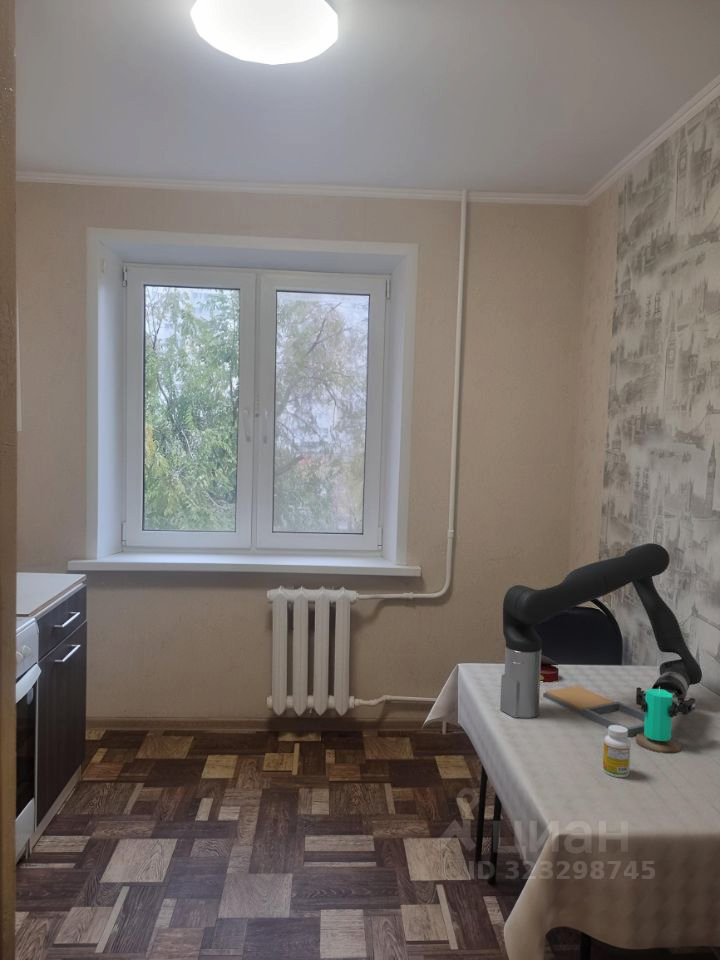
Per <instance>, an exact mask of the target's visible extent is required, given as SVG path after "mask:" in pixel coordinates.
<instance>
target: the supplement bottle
mask: <svg viewBox="0 0 720 960" xmlns="http://www.w3.org/2000/svg"><path fill="white" fill-rule="evenodd" d="M623 726H624V725H623ZM623 726H619V725H611V726H609V727H607V730H608V731H607V735H606V736H605V737H604V740H603V757H602V758H603V759H602V761H603V762H602V769H603V772H604V773H605V774H607V775H608V776H610V777H615V778H626V777H628V776H629V775H630V766H631V764H630V763H631V740H630V739H629V737H627V736H628V729H627V728H628V727H627V728H625V727H626V726H625V727H623Z"/></svg>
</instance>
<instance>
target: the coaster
mask: <svg viewBox="0 0 720 960" xmlns="http://www.w3.org/2000/svg"><path fill="white" fill-rule="evenodd" d="M635 742H637V743H636V744H637V745H638V744H639V745H638V746H640V747H641V748H643V747H644V749H645V748H646V750H648V749H649V750H648V751H651V750H652V751H651V752H655V751H656V753H660V752H662V753H661V754H674V753H679V752H680V751H681V750H682V743H681V742H680V741H679V740H678V739H676V738H675V737H673V736H671V739H670V740H668V741H657V740H653V739H650V738H648V737H646V736H645V735H644V733H639V734H638V735H635Z"/></svg>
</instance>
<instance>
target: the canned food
mask: <svg viewBox="0 0 720 960" xmlns="http://www.w3.org/2000/svg"><path fill="white" fill-rule="evenodd" d="M557 666H559V663H558V662H556V661H555V660H553V659H551V658H549V657H547V656H544V654H543V655H542V654H541V670H540V681H543V682H542V683H546V682H548V683H554V682H553V681H555V682H557V681H558V680H559V668H558V667H557ZM556 680H557V681H556Z"/></svg>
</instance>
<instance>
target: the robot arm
mask: <svg viewBox="0 0 720 960" xmlns="http://www.w3.org/2000/svg"><path fill="white" fill-rule="evenodd" d="M669 565H670V555H669V552H668V550H667V549H666V548H665V547H663V546H662V545H660V544H658V543H653V542H651V543H650V542H649V543H644V544H641V545H639V546H635V547H632V548H630V549H628V550H627V551H625V554H624V555H621V556H617V557H612V558H609V559H603V560H599V561H595V562H592V563H589V564H585V565H584V566H583V565H582V566H581V567H577V568H575V569H573V570H572V571H570V572H569V573H568V575H566V577H564V579H563V580H562V582H560V583H559V584H556V585H553V586H550V587H547V588H543V589H535V588H532V587H528V586H525V585H521V584H517V585H513V586H511V587H509V589H508V590H507V591H506V593H505V594H504V597H503V603H502V632H503V636H504V640H505V649H504V650H505V651H504V653H505V654H504V674H502V675H501V678H500V680H501V681H500V701H499V702H500V704H499V706H500V708H499V711H501V712H503V713H506V714H507V715H509V716H511V717H513V718H523V719H525V718H526V719H527V718H528V719H529V718H535V717H537V716H539V714H540V713H539V711H540V710H539V709H540V694H541V693H540V692H541V691H540V690H541V689H540V688H541V682H540V670H541V655H542V643H543V642H542V638H541V636H540V635H539V634H538V633H537V632H536V630H535V628H534V626H536V625H540V624H541V623H543V622H546V621H548V620H550V619H552V618H553V617H556V616H557V615H559V614H561V613H563V612H564V611H565V612H566V611H567V610H569V609H572V608H575V607H578V606H580V605H582V604H585V603H588V602H590V601H594V600H596V599H599V598H601V597H604V596H606V595H608V594H610V593H613V592H615V591H617V590H619V589H621V588H622V587H625V586H626V585H629V584H632V585H633V587H634V589H635V591H636V593H637V596H638V598H639V600H640V602H641V603H642V606H643V609H644V610H645V613H646V615H647V617H648V619H649V622H650V626H651V629H652V631H653V632H652V633H653V635H654V638H655V642H656V644H657V648H658V650H659V651H660V652H662V653H672V654H676V655H678V656H679V657H680V659H674V660H668V661H665V662H663V663H661V664H660V666H659V677H658V678H657V679H656V681H655V682H654V683H653V685H652V687H651V689H659V686H660V689H662V690H665V691H667V692H669V693H671V694H673V701H672V706H671V707H670V717H672V719H673V718H674V717H677V716H678V715H679V714H680V713H681V714H682V715H685V716H688V715H689V714H691V713H692V712H693V711H695V710H696V698H693V697H690V698H687V695H688V690H689V688H690V686H692V685H698V684H699V683H700V682H701V681H702V679H703V672H702V669H701V667H700V665H699V664H698V662H697V660H696V658H695V657H694V656H693V655H692V652H691V651H690V649H689V647H688V646H687V644H686V641H685V639H684V637H683V634H682V630H681V627H680V623H679V621H678V618H677V616H676V615H675V614H674V612H673V611H672V609H671V608H670V607H669V606H668V604H667V603H666V602H665V600H663V598H662V597H661V595H660V593H659V592H658V591H657V589H656V586H655V583H654V579H653V578H654V577H655V576H660V575H661V574H663V573H665V571H666V570H667V569H668V568H669ZM635 691H636V692H635V693H636V694H635V703H636V705H637V706H640V710H642V712H644V713H645V712H647V702H646V701H645V696H646V691H645V690H644V689H642V687H636V690H635ZM685 698H687V699H685Z"/></svg>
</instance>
